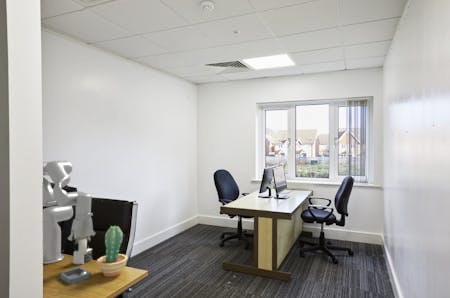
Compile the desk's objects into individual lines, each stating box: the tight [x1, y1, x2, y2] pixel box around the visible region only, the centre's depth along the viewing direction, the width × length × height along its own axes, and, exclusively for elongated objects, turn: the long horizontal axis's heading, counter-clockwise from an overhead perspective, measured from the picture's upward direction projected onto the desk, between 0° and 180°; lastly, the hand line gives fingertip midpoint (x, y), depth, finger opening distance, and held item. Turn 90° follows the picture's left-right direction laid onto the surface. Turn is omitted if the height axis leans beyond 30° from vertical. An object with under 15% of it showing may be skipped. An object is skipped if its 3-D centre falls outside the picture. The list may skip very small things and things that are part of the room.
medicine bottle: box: [73, 247, 93, 265], centre depth 169 cm, size 7×7×12 cm
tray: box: [59, 266, 92, 286], centre depth 147 cm, size 12×10×3 cm
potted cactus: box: [96, 225, 128, 277], centre depth 153 cm, size 15×15×25 cm
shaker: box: [76, 236, 87, 255], centre depth 160 cm, size 5×5×10 cm
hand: (81, 248), depth 160 cm, fingers closed on shaker, 5 cm apart
